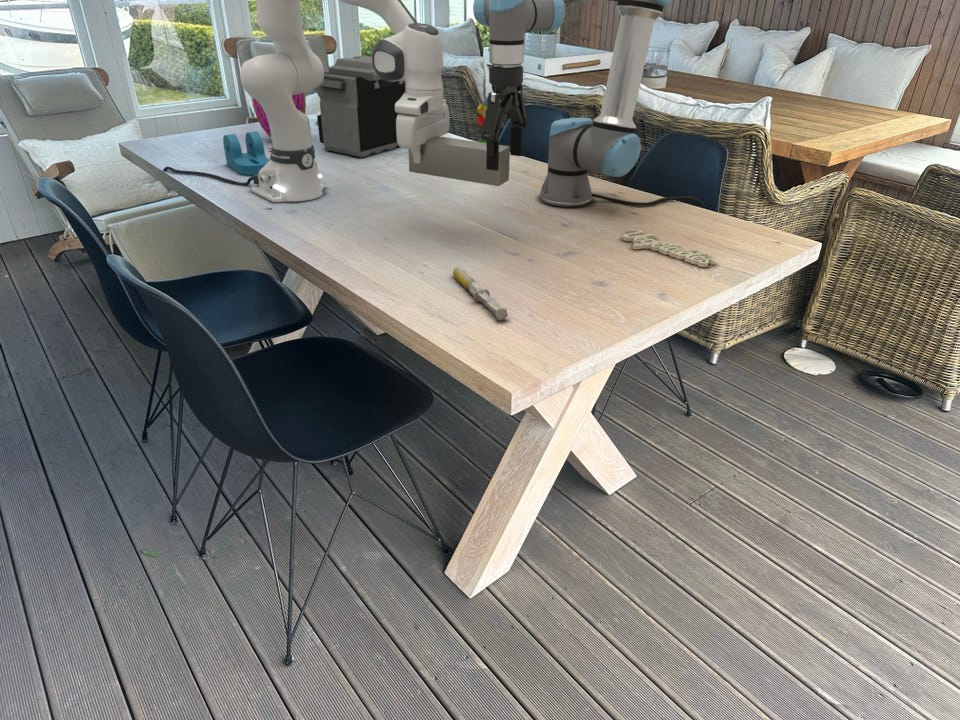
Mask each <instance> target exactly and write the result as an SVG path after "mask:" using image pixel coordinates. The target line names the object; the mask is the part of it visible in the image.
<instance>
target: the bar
mask: <svg viewBox="0 0 960 720" xmlns="http://www.w3.org/2000/svg"><path fill="white" fill-rule="evenodd" d="M510 148H511V145H503V144H499V170H498V171H495V170H488V169H486V155H487V143H482V142H479V141H475V140H468V139H462V138H461V139H460V138H454V137H446V136H436V137H434V138H431V139H429V140H427V141H425V143H424V144H422V145H421V149H419V150H420V154H421V155H422V157H423V158H422V159H423V161H422V162H421V163H419V164H418V163H414V161H413V154H412V152H411V150H410V149H408V171H409V172H410V173H415V174H422V175H428V176H434V177H440V178H444V179H445V178H446V179H452V180H457V181H463V182H464V181H465V182H470V183H475V184H481V185H482V184H483V185H488V186H493V187H500V186H502V185H504V184H505V183H506V182H508V181H509V177H510V160H511V155H510Z"/></svg>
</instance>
